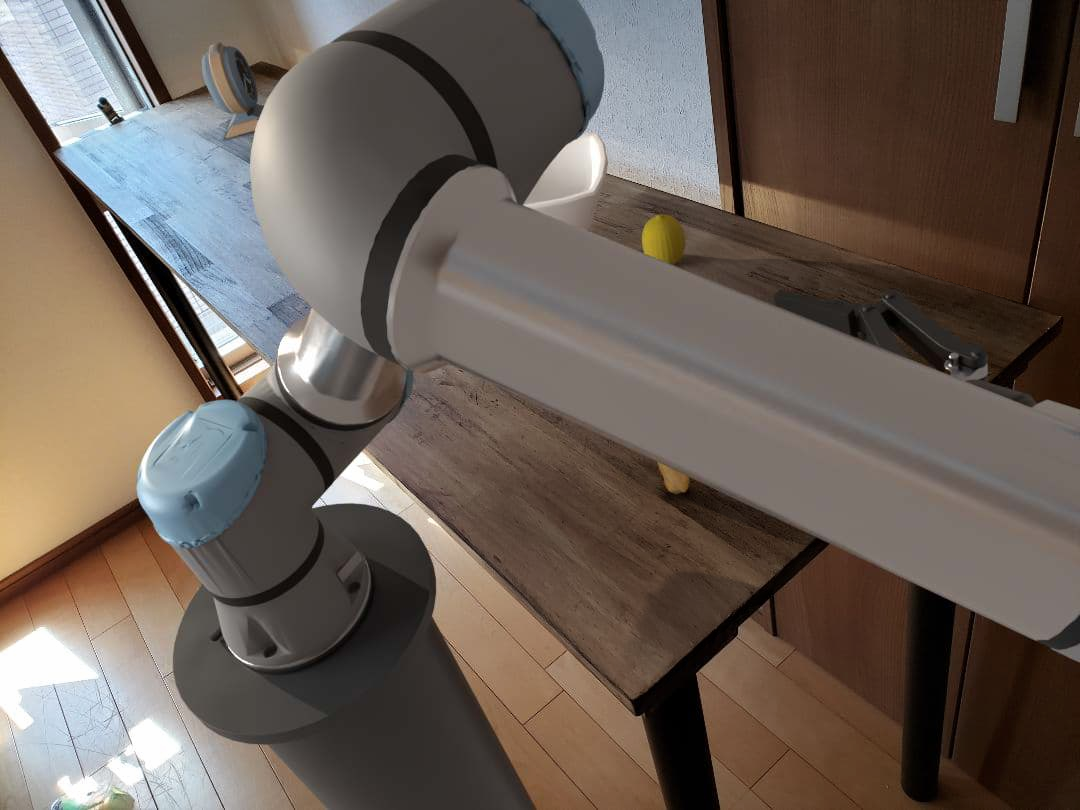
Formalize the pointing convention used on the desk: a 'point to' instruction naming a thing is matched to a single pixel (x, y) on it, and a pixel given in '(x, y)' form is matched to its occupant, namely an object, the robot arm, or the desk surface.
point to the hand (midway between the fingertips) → (723, 357)
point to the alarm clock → (232, 87)
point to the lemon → (664, 238)
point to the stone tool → (674, 479)
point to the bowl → (572, 182)
